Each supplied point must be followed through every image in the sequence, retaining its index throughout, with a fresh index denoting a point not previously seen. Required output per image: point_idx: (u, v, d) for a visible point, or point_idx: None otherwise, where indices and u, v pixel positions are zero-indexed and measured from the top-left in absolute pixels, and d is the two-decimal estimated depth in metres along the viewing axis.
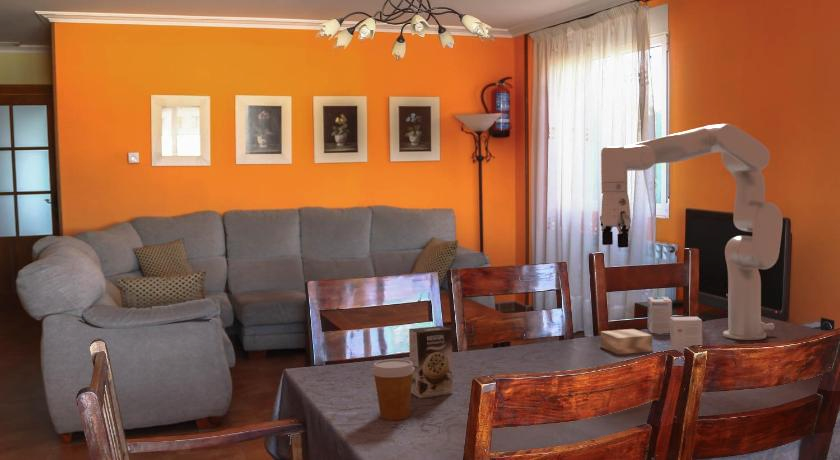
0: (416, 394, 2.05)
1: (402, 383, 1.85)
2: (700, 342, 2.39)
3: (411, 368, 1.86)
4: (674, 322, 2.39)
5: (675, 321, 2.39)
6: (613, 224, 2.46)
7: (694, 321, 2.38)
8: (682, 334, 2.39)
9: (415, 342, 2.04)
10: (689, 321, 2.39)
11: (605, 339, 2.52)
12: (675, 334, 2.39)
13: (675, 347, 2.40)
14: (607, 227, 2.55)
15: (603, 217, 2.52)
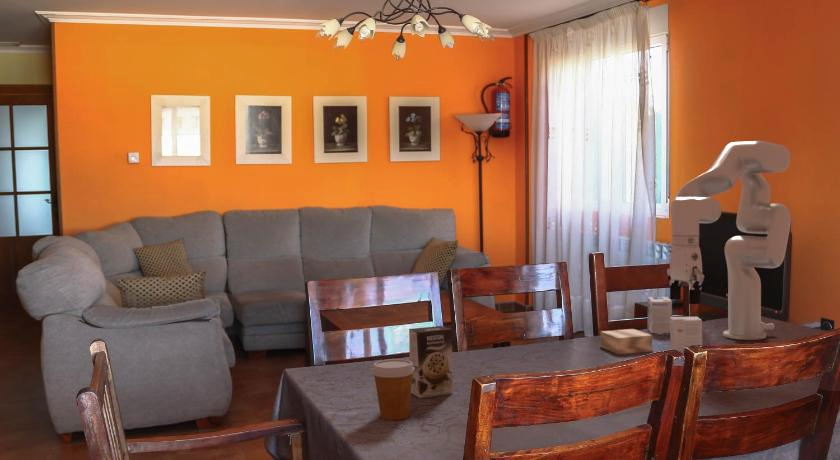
0: (416, 394, 2.05)
1: (402, 383, 1.85)
2: (700, 342, 2.39)
3: (411, 368, 1.86)
4: (674, 322, 2.39)
5: (675, 321, 2.39)
6: (684, 279, 2.37)
7: (694, 321, 2.38)
8: (682, 334, 2.39)
9: (415, 342, 2.04)
10: (689, 321, 2.39)
11: (605, 339, 2.52)
12: (675, 334, 2.39)
13: (675, 347, 2.40)
14: (675, 281, 2.46)
15: (672, 271, 2.42)
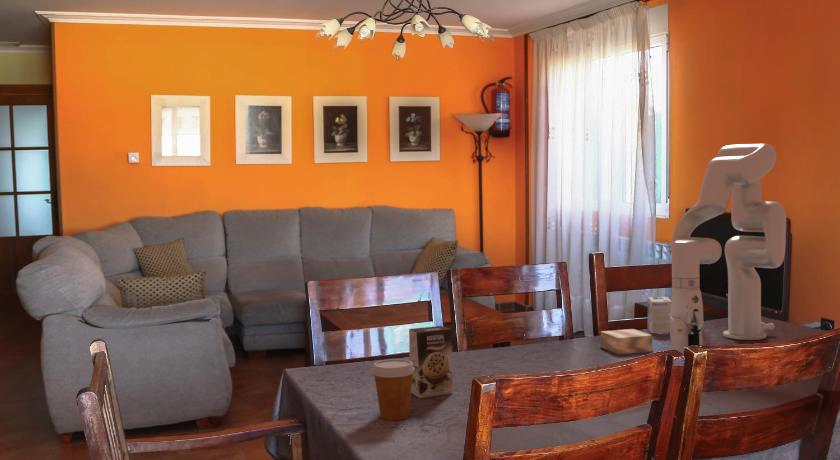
0: (416, 394, 2.05)
1: (402, 383, 1.85)
2: (700, 342, 2.39)
3: (411, 368, 1.86)
4: (674, 322, 2.39)
5: (675, 321, 2.39)
6: (685, 322, 2.38)
7: (694, 321, 2.39)
8: (682, 334, 2.39)
9: (415, 342, 2.04)
10: None
11: (605, 339, 2.52)
12: (675, 334, 2.39)
13: (675, 347, 2.39)
14: None
15: (673, 312, 2.43)
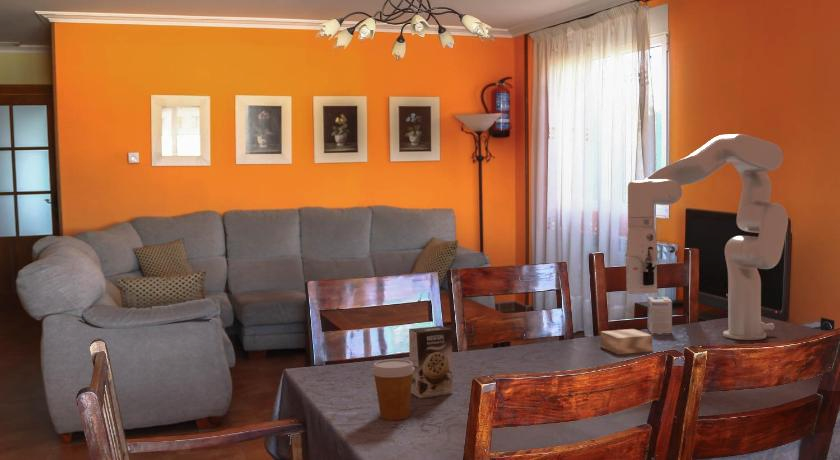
0: (416, 394, 2.05)
1: (402, 383, 1.85)
2: (655, 280, 2.44)
3: (411, 368, 1.86)
4: (630, 260, 2.45)
5: (631, 259, 2.44)
6: (640, 259, 2.43)
7: (649, 259, 2.44)
8: (637, 272, 2.45)
9: (415, 342, 2.04)
10: None
11: (605, 339, 2.52)
12: (631, 272, 2.45)
13: (630, 285, 2.45)
14: None
15: (629, 252, 2.49)
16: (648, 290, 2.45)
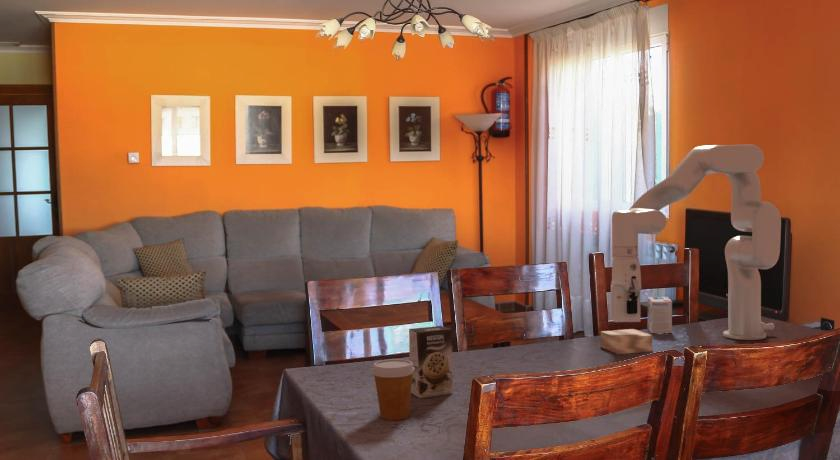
0: (416, 394, 2.05)
1: (402, 383, 1.85)
2: (638, 308, 2.48)
3: (411, 368, 1.86)
4: (613, 289, 2.48)
5: (614, 288, 2.48)
6: (624, 288, 2.47)
7: (632, 288, 2.47)
8: (621, 301, 2.48)
9: (415, 342, 2.04)
10: None
11: (605, 339, 2.52)
12: (614, 300, 2.48)
13: (614, 313, 2.48)
14: None
15: (613, 280, 2.52)
16: (632, 318, 2.48)
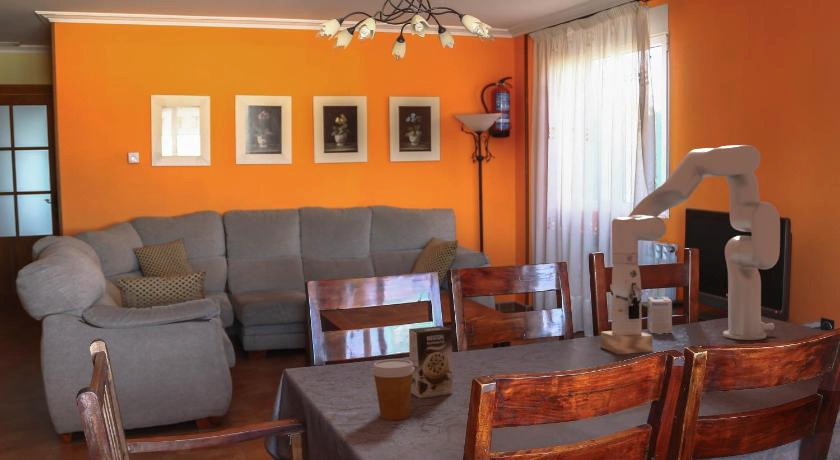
0: (416, 394, 2.05)
1: (402, 383, 1.85)
2: (640, 321, 2.48)
3: (411, 368, 1.86)
4: (615, 302, 2.48)
5: (616, 301, 2.48)
6: (624, 295, 2.47)
7: None
8: (622, 314, 2.48)
9: (415, 342, 2.04)
10: None
11: (605, 339, 2.52)
12: (616, 314, 2.48)
13: (616, 326, 2.48)
14: (617, 296, 2.56)
15: (614, 287, 2.53)
16: (633, 331, 2.48)
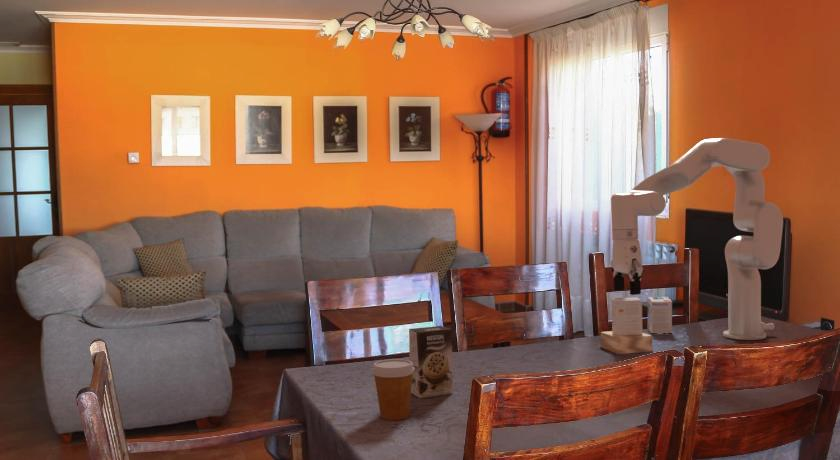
0: (416, 394, 2.05)
1: (402, 383, 1.85)
2: (640, 322, 2.48)
3: (411, 368, 1.86)
4: (615, 303, 2.48)
5: (616, 302, 2.48)
6: (625, 271, 2.47)
7: (634, 301, 2.48)
8: (623, 314, 2.48)
9: (415, 342, 2.04)
10: (630, 301, 2.48)
11: (605, 340, 2.52)
12: (616, 314, 2.48)
13: (617, 327, 2.48)
14: (618, 272, 2.55)
15: (614, 263, 2.52)
16: (634, 332, 2.48)
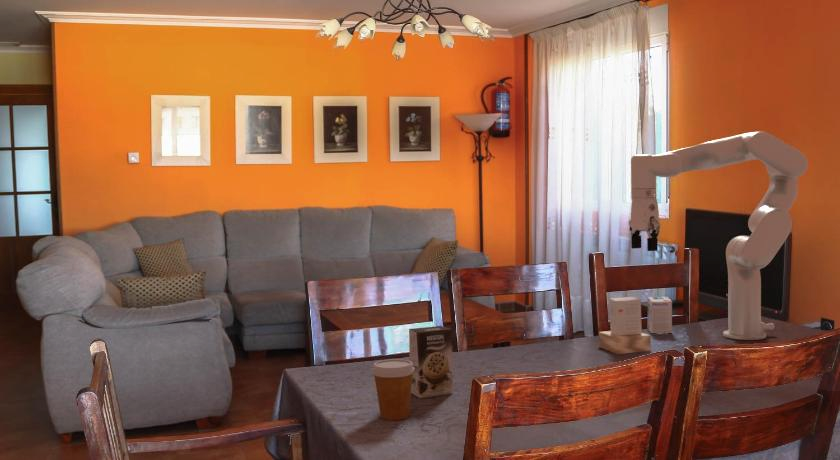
0: (416, 394, 2.05)
1: (402, 383, 1.85)
2: (639, 321, 2.49)
3: (411, 368, 1.86)
4: (615, 303, 2.48)
5: (616, 302, 2.48)
6: (643, 229, 2.58)
7: (633, 301, 2.48)
8: (622, 314, 2.48)
9: (415, 342, 2.04)
10: (629, 301, 2.48)
11: (603, 340, 2.53)
12: (616, 314, 2.48)
13: (616, 327, 2.48)
14: (636, 231, 2.67)
15: (632, 222, 2.64)
16: (633, 331, 2.49)
